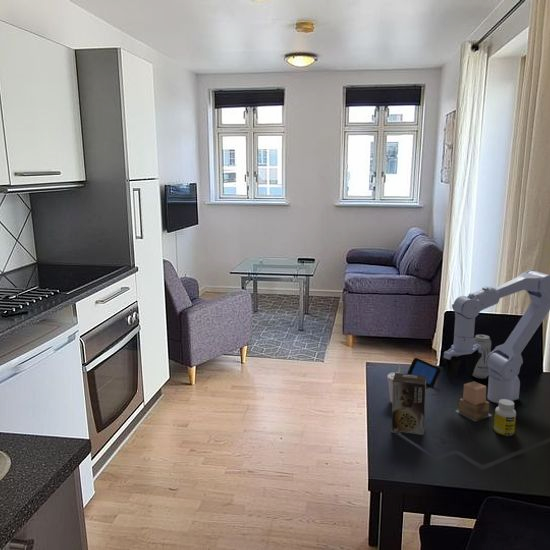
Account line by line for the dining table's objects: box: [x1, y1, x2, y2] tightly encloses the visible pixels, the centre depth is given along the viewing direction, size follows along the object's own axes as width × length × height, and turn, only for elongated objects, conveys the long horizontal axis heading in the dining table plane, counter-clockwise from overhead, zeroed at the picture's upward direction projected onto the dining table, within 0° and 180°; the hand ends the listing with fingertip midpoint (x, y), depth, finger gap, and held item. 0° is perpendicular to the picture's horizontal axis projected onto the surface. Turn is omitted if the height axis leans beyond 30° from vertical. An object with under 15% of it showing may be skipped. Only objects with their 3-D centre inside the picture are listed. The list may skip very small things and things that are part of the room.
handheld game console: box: [406, 357, 442, 390], centre depth 174 cm, size 12×11×7 cm
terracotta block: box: [462, 380, 487, 405], centre depth 151 cm, size 4×4×5 cm
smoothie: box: [386, 362, 404, 404], centre depth 159 cm, size 6×6×14 cm
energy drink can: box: [472, 333, 492, 379], centre depth 180 cm, size 6×6×15 cm
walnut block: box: [458, 397, 490, 420], centre depth 152 cm, size 6×6×4 cm
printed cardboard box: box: [391, 372, 427, 436], centre depth 143 cm, size 9×6×16 cm
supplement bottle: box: [493, 399, 517, 437], centre depth 140 cm, size 5×5×10 cm
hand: (461, 376), depth 157 cm, fingers open, 7 cm apart
